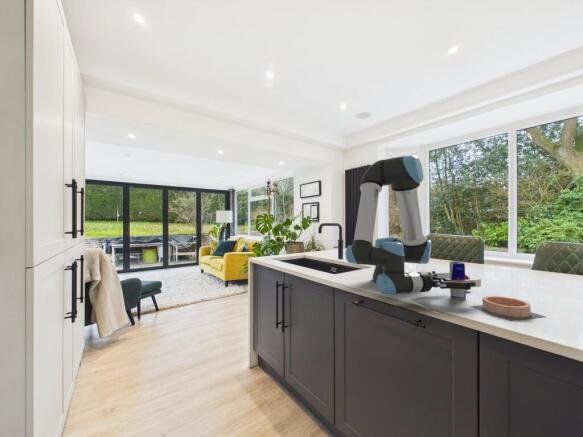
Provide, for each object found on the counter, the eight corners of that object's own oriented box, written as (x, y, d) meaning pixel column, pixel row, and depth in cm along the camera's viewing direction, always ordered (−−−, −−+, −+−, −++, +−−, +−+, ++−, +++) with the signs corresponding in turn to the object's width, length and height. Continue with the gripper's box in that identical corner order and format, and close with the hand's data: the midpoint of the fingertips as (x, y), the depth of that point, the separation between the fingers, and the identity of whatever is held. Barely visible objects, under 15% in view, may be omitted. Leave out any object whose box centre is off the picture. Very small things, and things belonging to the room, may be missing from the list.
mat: (469, 307, 90) (469, 306, 90) (501, 304, 92) (501, 303, 92) (510, 322, 76) (510, 321, 76) (547, 318, 79) (547, 316, 79)
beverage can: (461, 302, 96) (460, 262, 96) (447, 298, 100) (446, 261, 101) (468, 300, 98) (467, 261, 99) (455, 296, 103) (454, 260, 103)
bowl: (474, 306, 89) (474, 297, 89) (502, 304, 91) (502, 295, 91) (510, 319, 77) (509, 308, 77) (540, 316, 80) (540, 305, 80)
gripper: (397, 284, 108) (440, 281, 112) (442, 301, 84) (495, 297, 88) (397, 266, 108) (439, 264, 112) (442, 279, 84) (494, 275, 88)
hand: (464, 278), depth 100 cm, fingers open, 13 cm apart
